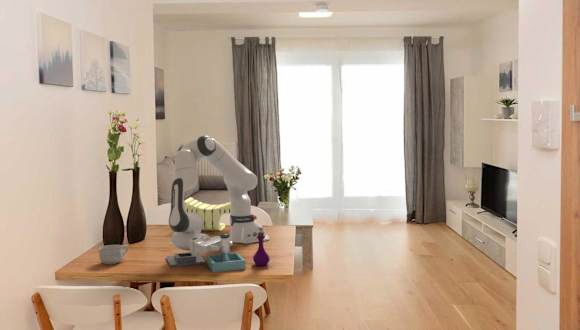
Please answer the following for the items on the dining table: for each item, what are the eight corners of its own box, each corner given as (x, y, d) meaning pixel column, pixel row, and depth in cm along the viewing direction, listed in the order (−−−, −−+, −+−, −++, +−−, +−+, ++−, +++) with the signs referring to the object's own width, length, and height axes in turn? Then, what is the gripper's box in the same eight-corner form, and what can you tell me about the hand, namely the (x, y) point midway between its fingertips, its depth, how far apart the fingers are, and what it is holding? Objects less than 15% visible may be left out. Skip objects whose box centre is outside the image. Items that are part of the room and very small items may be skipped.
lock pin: (229, 262, 276) (228, 233, 274) (231, 264, 271) (230, 235, 270) (219, 263, 274) (219, 233, 273) (221, 265, 270) (221, 235, 269)
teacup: (101, 267, 274) (100, 250, 273) (97, 261, 283) (96, 245, 282) (131, 263, 280) (131, 246, 279) (126, 258, 290) (126, 241, 289)
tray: (237, 260, 282) (237, 252, 282) (245, 268, 268) (245, 260, 268) (206, 263, 278) (206, 255, 277) (213, 272, 263) (212, 263, 263)
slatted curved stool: (183, 231, 348) (183, 201, 347) (191, 225, 364) (190, 197, 362) (233, 232, 345) (233, 201, 343) (239, 226, 361) (238, 197, 359)
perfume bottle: (253, 263, 278) (252, 225, 276) (269, 262, 278) (268, 225, 277) (253, 267, 270) (252, 228, 268) (269, 267, 271) (269, 228, 269)
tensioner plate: (198, 255, 293) (198, 249, 293) (205, 263, 278) (204, 257, 278) (166, 258, 288) (165, 252, 287) (170, 267, 273) (170, 260, 272)
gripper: (215, 244, 288) (238, 247, 281) (188, 254, 270) (213, 258, 263) (214, 232, 287) (238, 234, 280) (188, 240, 269) (212, 244, 263)
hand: (226, 246), depth 272 cm, fingers open, 8 cm apart
